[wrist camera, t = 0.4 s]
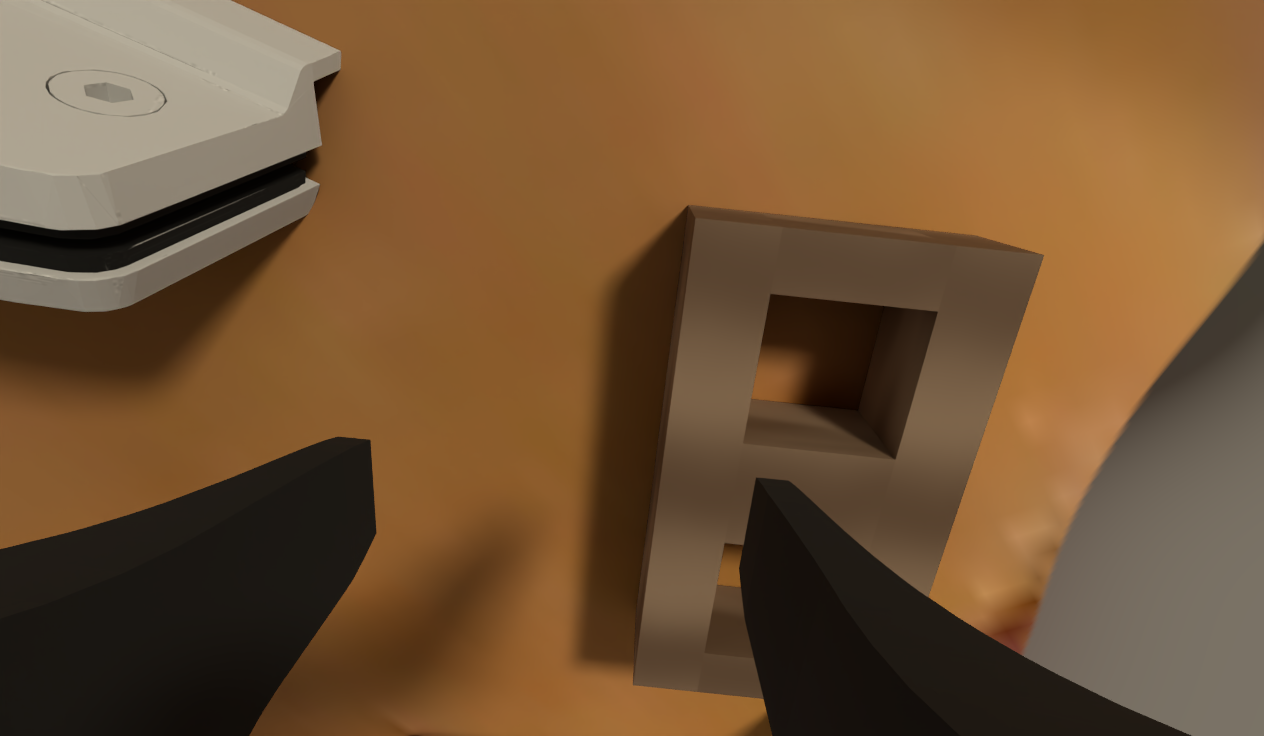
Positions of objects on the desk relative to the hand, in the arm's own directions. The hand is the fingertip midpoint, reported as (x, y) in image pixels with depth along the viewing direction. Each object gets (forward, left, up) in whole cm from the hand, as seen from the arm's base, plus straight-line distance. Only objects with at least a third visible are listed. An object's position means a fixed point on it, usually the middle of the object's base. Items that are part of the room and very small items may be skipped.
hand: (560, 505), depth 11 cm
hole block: (-3, -7, -10) cm, 12 cm away
